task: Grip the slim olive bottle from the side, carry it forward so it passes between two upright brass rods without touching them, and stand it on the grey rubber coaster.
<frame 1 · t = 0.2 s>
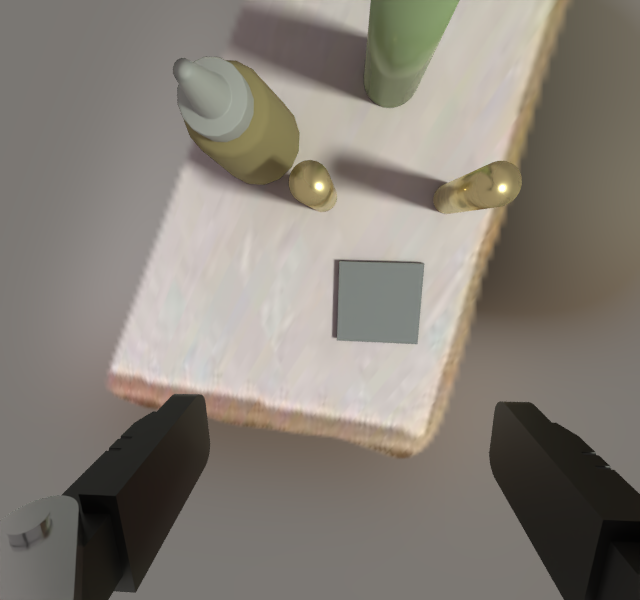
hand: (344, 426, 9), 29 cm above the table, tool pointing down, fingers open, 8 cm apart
squeeze bottle: (267, 149, 35), on the table
olive bottle: (391, 77, 33), on the table
grey coaster: (378, 302, 37), on the table
brass rod 2: (448, 198, 35), on the table
brass rod 1: (322, 197, 36), on the table
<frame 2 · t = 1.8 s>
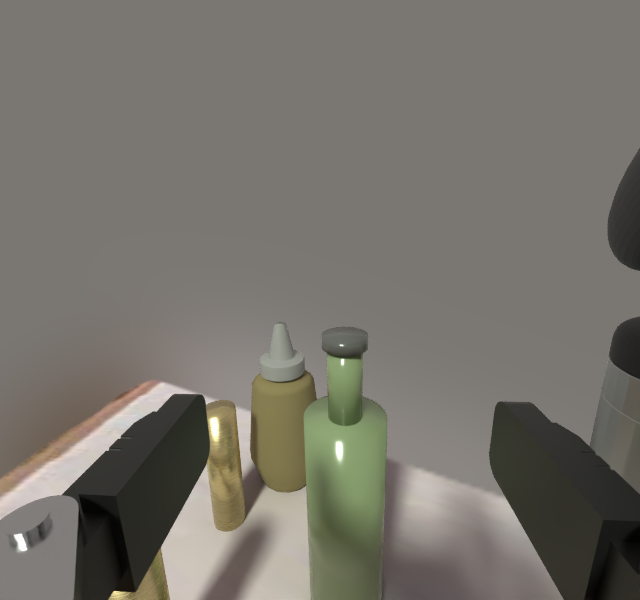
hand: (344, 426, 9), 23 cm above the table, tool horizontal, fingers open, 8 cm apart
squeeze bottle: (288, 474, 38), on the table
olive bottle: (345, 597, 26), on the table
brass rod 1: (230, 517, 33), on the table
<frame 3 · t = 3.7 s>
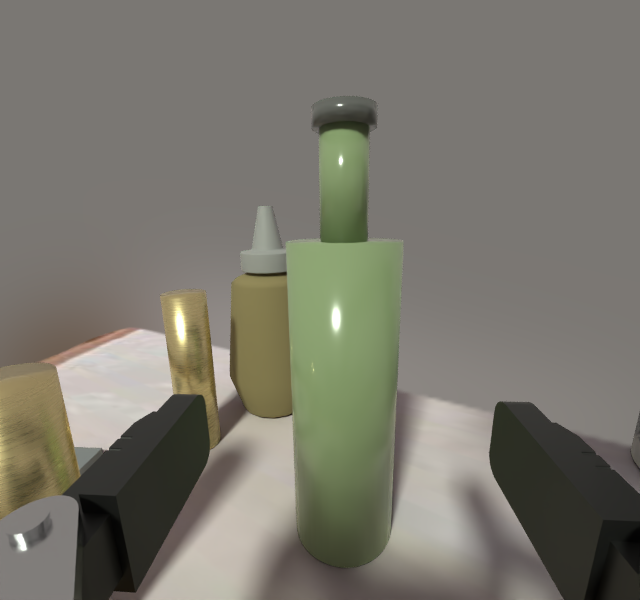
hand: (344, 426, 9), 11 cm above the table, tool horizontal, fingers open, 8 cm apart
squeeze bottle: (276, 403, 32), on the table
olive bottle: (343, 520, 19), on the table
brass rod 1: (200, 440, 27), on the table
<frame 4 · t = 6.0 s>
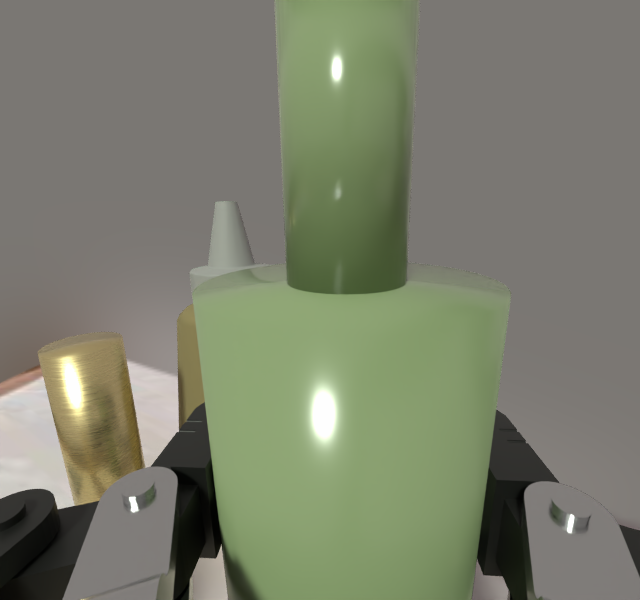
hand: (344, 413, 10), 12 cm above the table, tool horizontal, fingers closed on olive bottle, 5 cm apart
squeeze bottle: (249, 478, 23), on the table
brass rod 1: (127, 560, 17), on the table
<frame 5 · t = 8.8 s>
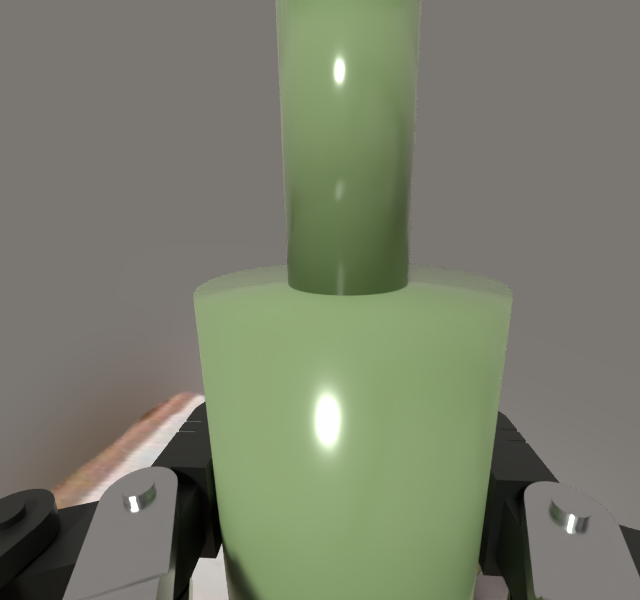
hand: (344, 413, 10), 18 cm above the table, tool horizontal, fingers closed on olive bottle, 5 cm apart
when the fingers open (13 cm above the table, at t = 11.6 s): olive bottle stays where it is, resting on grey coaster.
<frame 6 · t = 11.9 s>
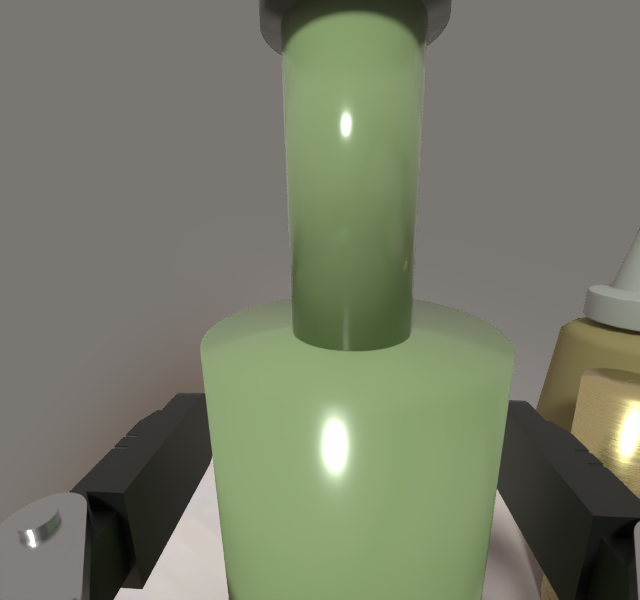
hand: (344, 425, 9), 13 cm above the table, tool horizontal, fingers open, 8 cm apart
squeeze bottle: (592, 512, 22), on the table
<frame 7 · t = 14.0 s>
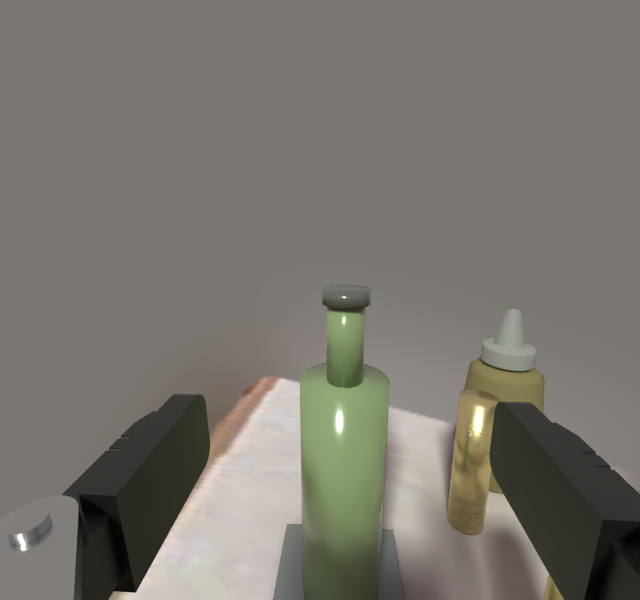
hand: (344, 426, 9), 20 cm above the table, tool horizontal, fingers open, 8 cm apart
squeeze bottle: (490, 475, 35), on the table
olive bottle: (340, 584, 24), point 1 cm above the table, touching grey coaster
grey coaster: (338, 588, 24), on the table
brass rod 1: (464, 519, 30), on the table
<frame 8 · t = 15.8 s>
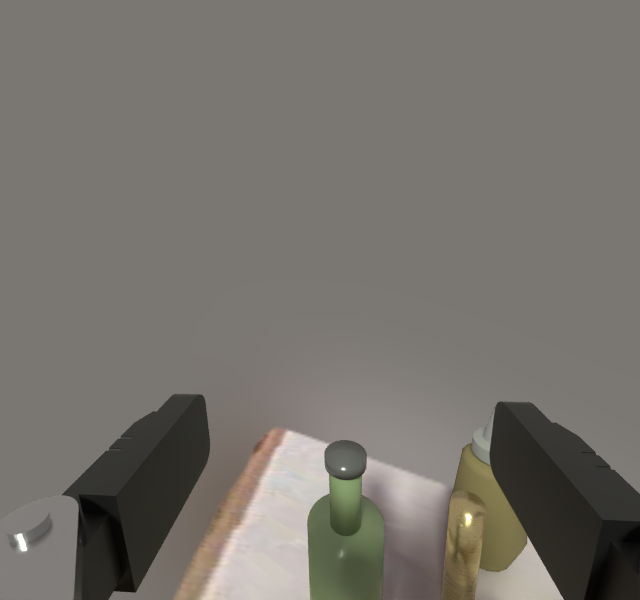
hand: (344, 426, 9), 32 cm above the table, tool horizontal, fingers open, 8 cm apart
squeeze bottle: (482, 548, 39), on the table
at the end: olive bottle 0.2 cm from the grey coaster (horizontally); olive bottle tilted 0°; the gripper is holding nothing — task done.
